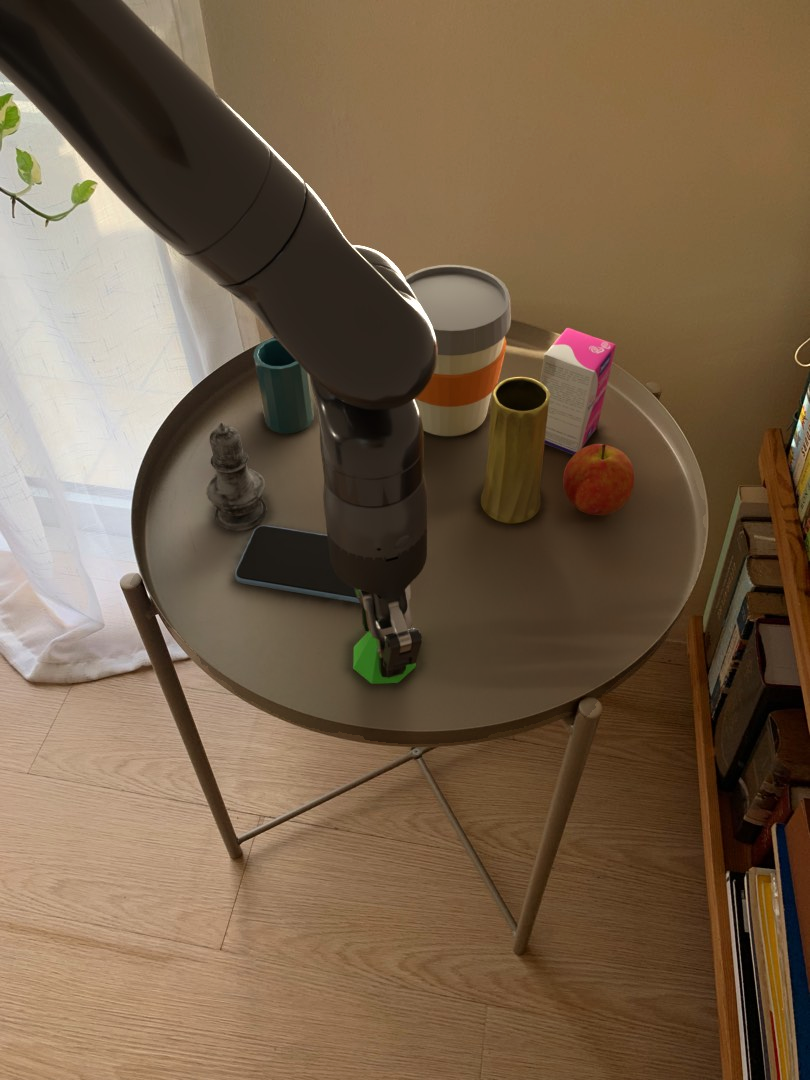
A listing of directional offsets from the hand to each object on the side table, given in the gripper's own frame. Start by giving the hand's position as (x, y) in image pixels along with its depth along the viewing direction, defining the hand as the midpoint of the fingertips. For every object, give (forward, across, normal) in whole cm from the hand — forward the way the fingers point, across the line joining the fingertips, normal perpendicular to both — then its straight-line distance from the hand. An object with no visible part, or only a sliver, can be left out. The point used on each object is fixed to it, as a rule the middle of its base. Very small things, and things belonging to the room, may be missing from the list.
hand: (384, 648), depth 78 cm
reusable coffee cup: (+2, -30, +17) cm, 35 cm away
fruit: (+2, -11, +26) cm, 28 cm away
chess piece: (+2, -22, -9) cm, 24 cm away
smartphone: (+1, -12, -3) cm, 12 cm away
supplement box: (+2, -22, +28) cm, 36 cm away
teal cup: (+1, -35, 0) cm, 35 cm away
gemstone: (+2, 0, 0) cm, 2 cm away
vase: (+2, -14, +18) cm, 23 cm away
